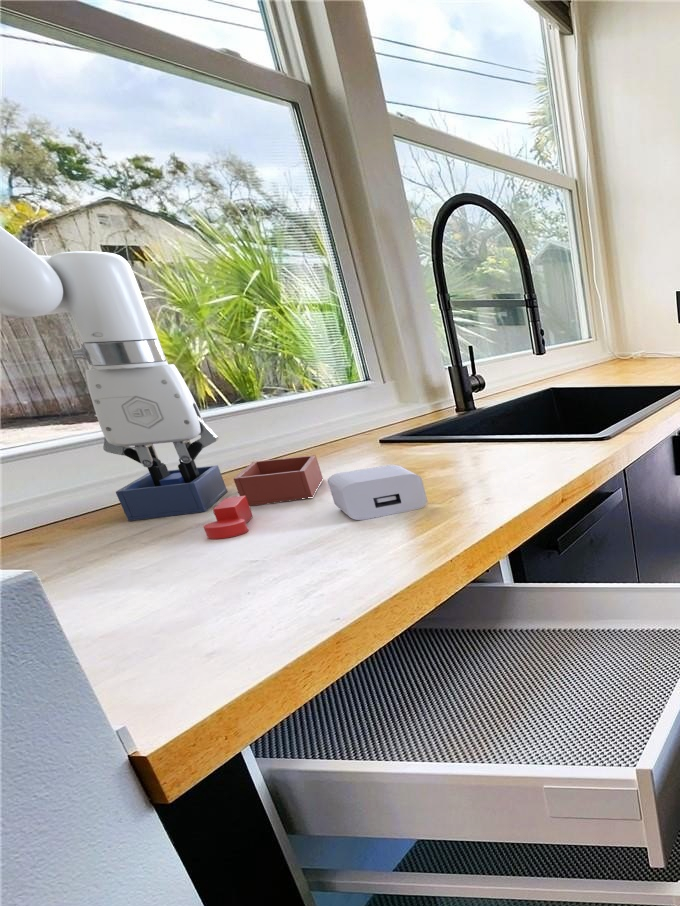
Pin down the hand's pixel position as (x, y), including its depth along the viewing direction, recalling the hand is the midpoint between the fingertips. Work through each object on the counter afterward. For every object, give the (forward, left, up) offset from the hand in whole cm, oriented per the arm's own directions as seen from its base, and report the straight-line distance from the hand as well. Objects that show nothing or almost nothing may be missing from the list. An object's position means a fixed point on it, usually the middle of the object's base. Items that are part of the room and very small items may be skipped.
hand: (181, 490), depth 99 cm
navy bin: (0, -2, -2) cm, 3 cm away
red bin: (+12, -2, -2) cm, 13 cm away
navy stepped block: (0, -2, -1) cm, 2 cm away
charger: (+25, -18, -2) cm, 31 cm away
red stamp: (+9, -21, -2) cm, 23 cm away
